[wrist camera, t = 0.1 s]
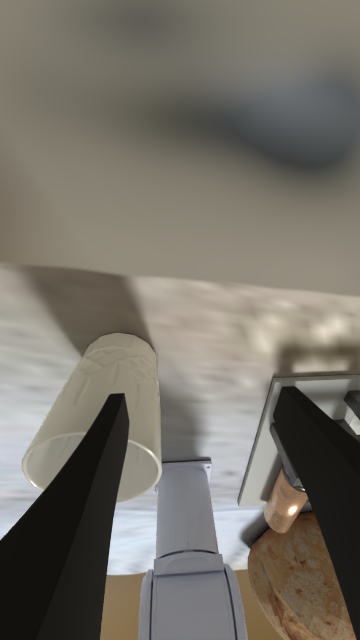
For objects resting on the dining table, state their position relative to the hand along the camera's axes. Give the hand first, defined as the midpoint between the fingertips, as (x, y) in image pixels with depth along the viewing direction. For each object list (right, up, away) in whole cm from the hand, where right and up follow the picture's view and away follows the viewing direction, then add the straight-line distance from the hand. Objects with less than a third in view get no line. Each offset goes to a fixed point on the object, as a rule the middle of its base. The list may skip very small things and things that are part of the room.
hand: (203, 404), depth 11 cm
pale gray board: (+14, -15, +21) cm, 29 cm away
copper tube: (+14, -19, +23) cm, 33 cm away
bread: (+24, -41, +38) cm, 61 cm away
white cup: (-7, 0, +12) cm, 13 cm away
